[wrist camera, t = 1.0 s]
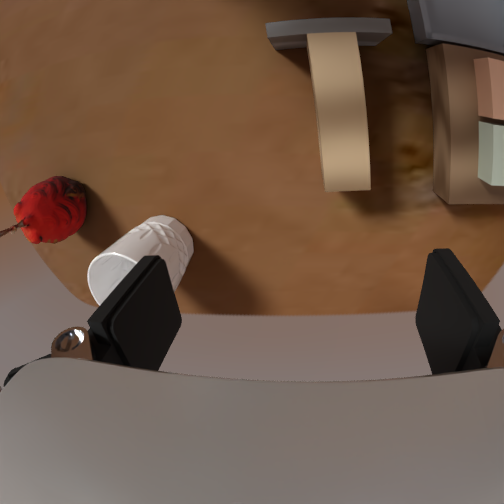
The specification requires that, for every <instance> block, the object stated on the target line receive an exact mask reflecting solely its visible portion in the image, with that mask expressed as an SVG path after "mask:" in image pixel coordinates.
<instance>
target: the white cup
mask: <svg viewBox="0 0 504 504" xmlns="http://www.w3.org/2000/svg"><path fill="white" fill-rule="evenodd" d="M193 252H194V248H193V239H192V237H191V235H190V233H189V232H188V230H187V228H186V227H185V226H184V225H183V224H181V223H180V222H179V221H178V220H176V219H175V218H172V217H168V216H164V215H160V216H155V217H150V218H149V219H148V220H146V221H145V222H144V223H142V224H141V225H139V226H137V227H135V228H134V229H132V230H131V231H130V232H128V233H127V234H125V235H124V236H122V237H121V238H120V239H119V240H117V241H116V242H115V243H113V244H112V245H111V246H110V247H108V248H107V249H106V250H104V251H103V252H102V253H101V254H99V255H98V256H97V257H96V258H94V259H93V261H92V262H91V264H90V266H89V269H88V284H89V288H90V290H91V293H92V295H93V297H94V299H95V300H96V302H97V303H98V304H99V306H100V305H101V304H102V303H103V301H104V300H105V299H106V298H107V297H108V296H109V294H110V293H111V292H112V291H113V290H114V289H115V287H116V286H117V285H118V284H119V283H120V282H121V281H122V280H123V278H124V277H125V276H126V275H127V274H128V273H129V272H130V271H131V269H132V268H133V267H134V266H135V265H136V264H137V263H138V262H139V261H140V259H141V258H142V257H143V256H147V255H159V256H160V257H161V258H162V259H164V260H165V261H166V265H167V268H168V272H169V276H170V279H171V283H172V287H173V290H174V292H175V290H176V288H177V287H178V285H179V283H180V281H181V279H182V276H183V275H184V273H185V271H186V267H187V265H188V264H189V262H190V259H191V257H192V255H193Z"/></svg>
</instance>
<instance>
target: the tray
mask: <svg viewBox="0 0 504 504" xmlns="http://www.w3.org/2000/svg"><path fill="white" fill-rule="evenodd" d="M407 4H408V8H409V13H410V17H411V22H412V27H413V33H414V38H415V43H418V44H427V45H435V46H436V45H439V44H442V43H443V44H450V45H456V46H462V47H467V48H472V49H477V50H481V51H486V52H490V53H494V54H498V55H502V56H504V0H407Z"/></svg>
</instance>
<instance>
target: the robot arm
mask: <svg viewBox="0 0 504 504" xmlns="http://www.w3.org/2000/svg"><path fill="white" fill-rule="evenodd" d="M87 322H88V324H89V326H90V329H89V330H88V331H87V330H86V329H85V328H83V327H71V328H68V329H66V330H64V331H62V332H61V333H59V334H58V335H57V336H56V337H55V338H54V340H53V342H52V345H51V354H49V355H47V356H44V357H41V358H39V359H37V360H34V361H32V362H30V363H27V364H25V365H22V366H20V367H18V368H14V369H13V370H11V371H10V372H9V374H8V376H7V378H6V380H5V382H4V388H3V389H2V387H1V386H0V504H504V329H503V330H501V328H500V326H499V322H500V320H499V319H498V317H497V316H496V314H495V312H494V311H493V309H492V308H491V306H490V305H489V303H488V301H487V300H486V298H485V297H484V296H483V294H482V292H481V291H480V289H479V288H478V287H477V285H476V284H475V282H474V281H473V279H472V278H471V277H470V275H469V274H468V272H467V271H466V270H465V268H464V267H463V266H462V264H461V263H460V262H459V260H458V259H457V258H456V256H455V255H454V254H453V252H452V251H451V250H450V249H434V250H433V252H432V253H429V255H428V258H427V264H426V269H425V275H424V280H423V285H422V290H421V295H420V300H419V304H418V309H417V313H416V326H417V329H418V332H419V335H420V337H421V340H422V343H423V346H424V349H425V352H426V355H427V358H428V362H429V365H430V368H431V371H432V375H425V376H415V377H404V378H392V379H379V380H360V381H325V382H324V381H320V382H319V381H318V382H301V381H297V382H296V381H264V380H245V379H230V378H218V377H206V376H196V375H187V374H178V373H170V372H162V371H158V370H159V367H160V366H161V364H162V362H163V360H164V358H165V356H166V354H167V352H168V350H169V348H170V346H171V344H172V342H173V340H174V338H175V336H176V334H177V332H178V330H179V328H180V326H181V323H182V319H181V314H180V311H179V307H178V304H177V301H176V297H175V294H174V290H173V287H172V283H171V279H170V276H169V272H168V268H167V265H166V261H165V260H164V259H162V258H161V257H160V256H159V255H147V256H143V257H142V258H141V259H140V261H139V262H138V263H137V264H136V265H135V266H134V267H133V268H132V269H131V271H130V272H129V273H128V274H127V275H126V276H125V277H124V278H123V280H122V281H121V282H120V283H119V284H118V285H117V286H116V287H115V289H114V290H113V291H112V292H111V293H110V294H109V296H108V297H107V298H106V299H105V300H104V301H103V303H102V304H101V305H100V306H99V307H98V309H97V310H96V311H95V312H94V313H93V315H92V316H91V317H90V318H89V319H88V321H87Z"/></svg>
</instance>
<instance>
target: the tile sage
mask: <svg viewBox="0 0 504 504" xmlns="http://www.w3.org/2000/svg"><path fill="white" fill-rule="evenodd" d="M478 178H480V179H481V180H483V181H485V182H486V183H488V184H490V185H493V186H504V124H497V123H489V122H481V121H479V159H478Z"/></svg>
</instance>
